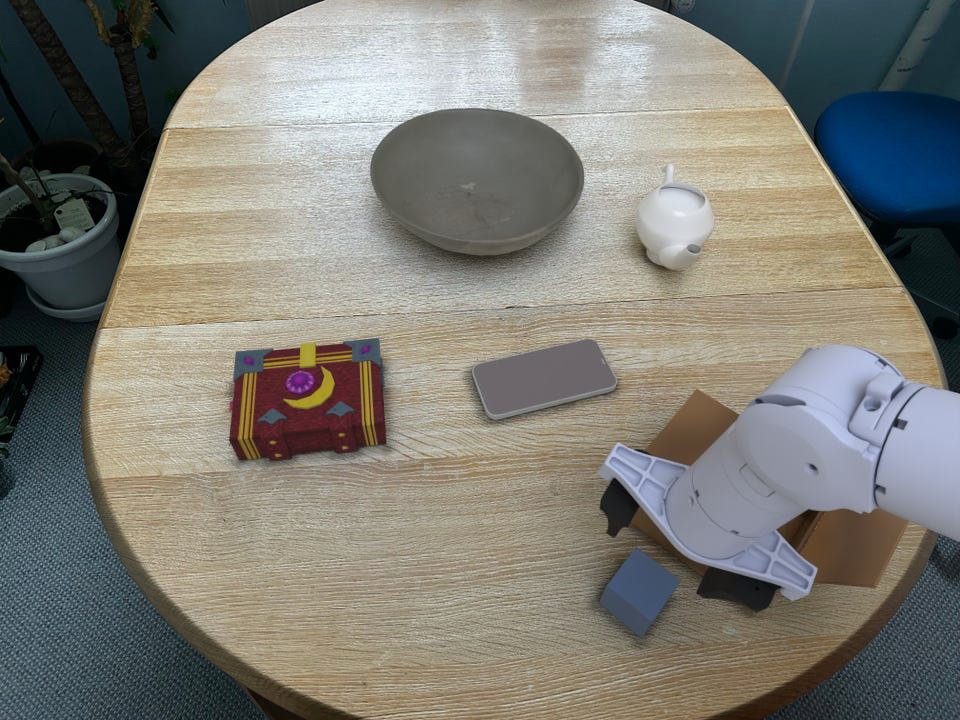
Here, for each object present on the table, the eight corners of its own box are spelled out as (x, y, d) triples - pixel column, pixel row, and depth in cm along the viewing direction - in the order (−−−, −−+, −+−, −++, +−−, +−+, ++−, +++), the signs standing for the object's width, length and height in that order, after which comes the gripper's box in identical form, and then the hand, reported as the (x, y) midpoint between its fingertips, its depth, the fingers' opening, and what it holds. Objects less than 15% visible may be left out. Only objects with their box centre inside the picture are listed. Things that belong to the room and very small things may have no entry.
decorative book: (388, 448, 69) (384, 421, 65) (227, 467, 67) (212, 440, 63) (382, 362, 76) (378, 333, 72) (236, 377, 74) (223, 348, 70)
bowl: (362, 286, 83) (354, 235, 77) (388, 153, 101) (383, 102, 94) (583, 294, 83) (593, 243, 77) (570, 159, 101) (578, 109, 94)
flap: (844, 479, 59) (846, 481, 59) (785, 577, 53) (787, 580, 53) (930, 473, 52) (932, 476, 52) (873, 585, 47) (876, 588, 47)
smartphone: (469, 364, 75) (594, 336, 78) (469, 369, 76) (593, 341, 78) (489, 418, 70) (620, 385, 73) (488, 423, 71) (619, 390, 74)
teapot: (688, 206, 94) (706, 149, 87) (714, 311, 82) (738, 255, 75) (619, 204, 94) (633, 146, 87) (635, 308, 82) (652, 251, 75)
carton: (808, 519, 65) (845, 479, 59) (751, 612, 59) (786, 578, 53) (675, 433, 71) (696, 387, 65) (612, 509, 65) (628, 468, 59)
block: (668, 599, 60) (681, 580, 56) (641, 638, 58) (652, 621, 54) (626, 566, 62) (636, 546, 58) (598, 603, 60) (606, 585, 56)
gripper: (874, 507, 40) (764, 567, 51) (659, 377, 43) (601, 461, 54) (840, 608, 36) (731, 648, 48) (608, 460, 39) (558, 531, 51)
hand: (659, 554), depth 51 cm, fingers open, 7 cm apart
